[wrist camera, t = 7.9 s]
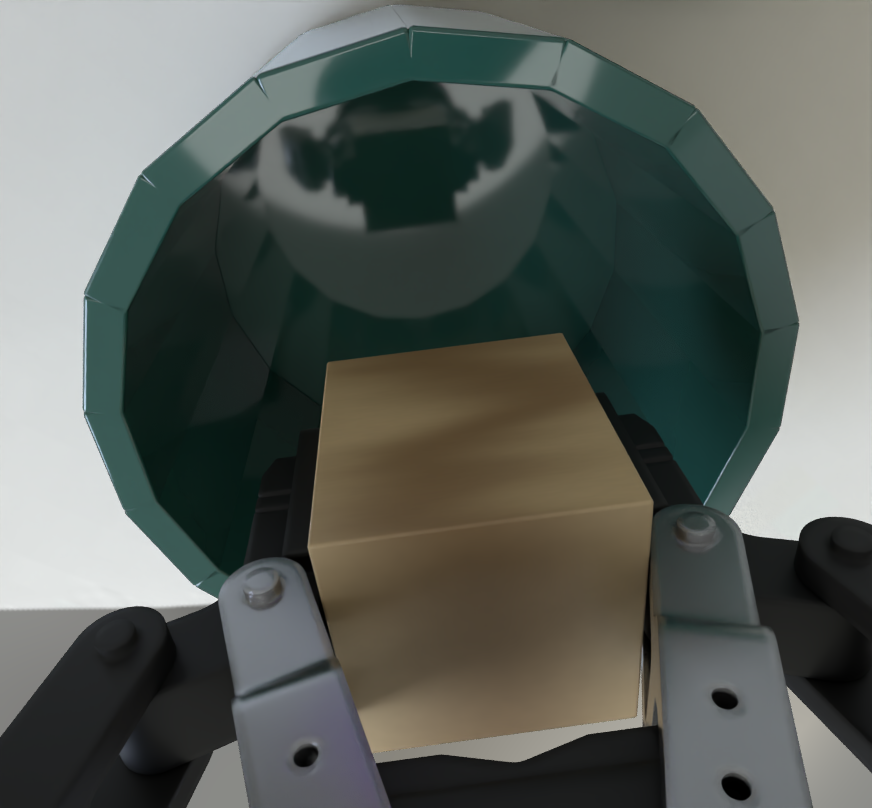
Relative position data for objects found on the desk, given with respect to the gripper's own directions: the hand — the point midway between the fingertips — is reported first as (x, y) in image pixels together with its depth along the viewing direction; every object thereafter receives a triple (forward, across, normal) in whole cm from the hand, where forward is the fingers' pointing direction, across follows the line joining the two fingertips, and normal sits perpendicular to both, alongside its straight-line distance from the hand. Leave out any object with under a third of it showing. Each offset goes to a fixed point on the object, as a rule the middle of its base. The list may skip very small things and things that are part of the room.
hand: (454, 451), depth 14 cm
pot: (+12, 0, 0) cm, 12 cm away
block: (0, 0, 0) cm, 0 cm away
